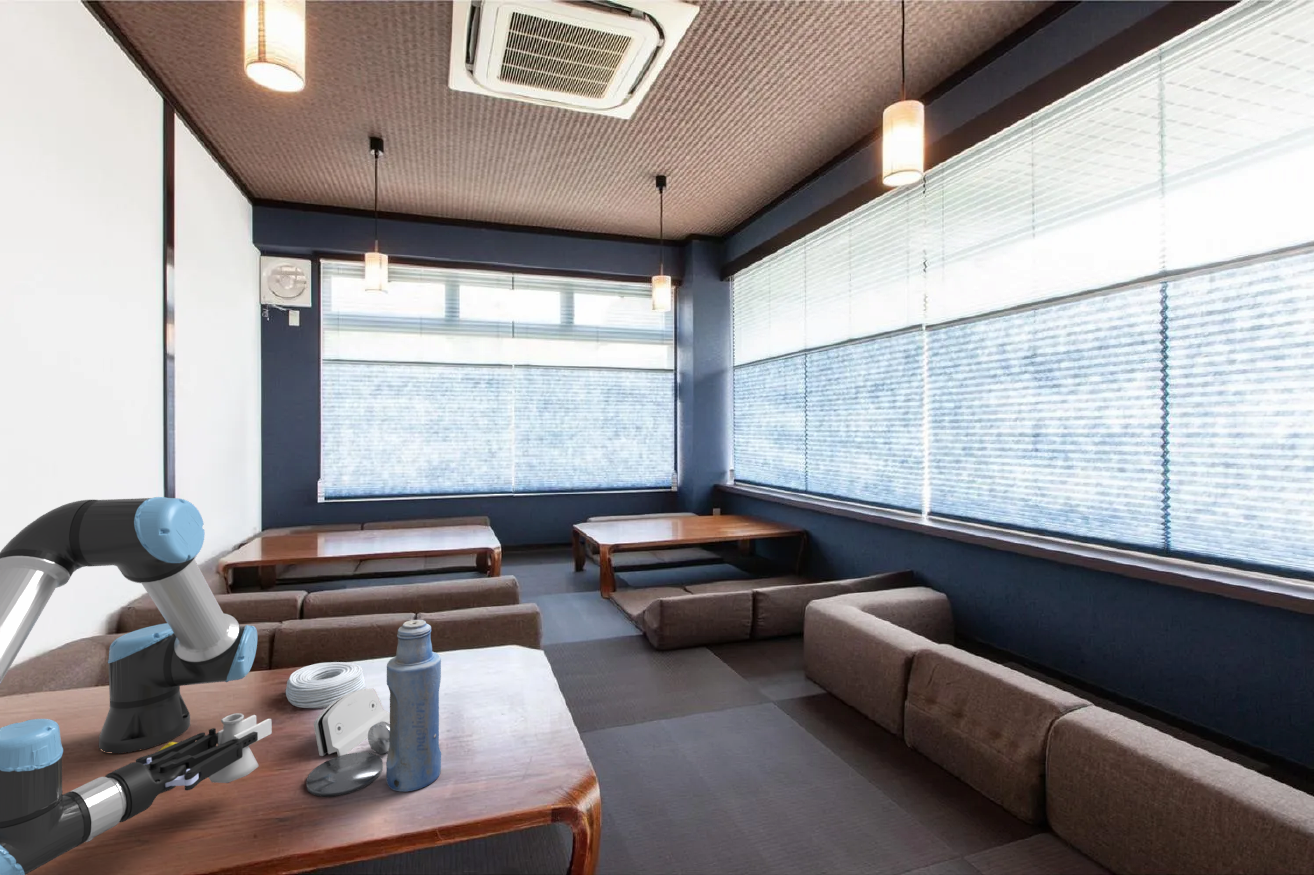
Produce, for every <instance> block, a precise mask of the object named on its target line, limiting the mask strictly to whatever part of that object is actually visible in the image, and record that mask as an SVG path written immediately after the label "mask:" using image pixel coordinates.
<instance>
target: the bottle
mask: <svg viewBox="0 0 1314 875" xmlns="http://www.w3.org/2000/svg"><path fill="white" fill-rule="evenodd" d="M431 632H432V626H431V625H430V624H428V623H427V622H426V620H423V619H411V620H407V621H405V622H404V623H403V624H402V626H399V628H398V629H397V633H396V637H397V647H396V655H395V656H394V657H391V659H389V661H388V662H387V663H386V685H387V687H388V690H389V714H390V722H389V724H390V736H389V738H390V741H389V750H388V751H387V757H386V763H385V765H386V772H385V774H386V784H387V785H388V787H389V788H390V789H391V790H393V791H397V792H412V791H417V790H420V789H423V788H424V787H427V786H429V785H431V784H432V783H433V782H435V781H436V780H437V779H438V778H439V777H440V774H441V771H442V770H441V769H442V751H441V749H440V742H439V741H440V687H441V686H440V685H441V681H442V680H441V679H442V657H441V655H440V654H438V653H437V652H434V651H433V644H432V640H431V635H432V634H431Z"/></svg>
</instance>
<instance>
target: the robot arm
mask: <svg viewBox="0 0 1314 875" xmlns="http://www.w3.org/2000/svg"><path fill="white" fill-rule="evenodd" d="M204 523H205V522H204V520H203V517H202V515H201V513H200V511H199V509H198V508H197V507H196V506H195V505H194V504H193V503H192V502H190V501H189V500H188V499H187V500H186V499H184V498H178V497H176V498H175V497H166V496H156V497H147V498H145V497H143V498H142V497H141V498H140V497H139V498H119V499H118V498H116V499H83V500H76V501H72V502H69V503H65V504H62V505H61V506H58V507H55V508H54V509H51V510H49V511H47V512H46V513H44V514H43V515H40V516H39V517H38V518H36V519H35V520H33V521H32V522H31V523H28V525H27V526H25V527H24V528H22V529H21V530H20V531H19V532H17V534H16V535H15V536H13V537H12V538H11V539H10V540H9V541H8V543H6V545H4V547H2V549H1V551H0V685H1V684H2V682H3V680H4V678H5V676H6V675H7V674H8V671H9V670H10V668H11V666H12V665H13V663H14V662H15V659H16V657H17V656H18V654H19V652H20V651H21V648H22V647H23V645H24V644H25V642H26V640H27V639H28V637H29V635H30V634H31V631H32V630H33V628H34V627H35V624H36V623H37V622H38V620H39V618H40V616H41V614H42V612H43V611H44V609H45V607H46V606H47V603H48V602H49V600H50V598H51V597H52V596H53V593H54V592H55V591H56V589H58V588H60V587H63V586H65V585H66V584H67V583H68V582H69V581H70V580H71V577H72V575H73V573H74V572H76V571H77V570H79V569H81V568H84V567H108V566H109V567H110V566H115V567H117V569H118V570H119V572H120V573H121V575H122V576H123V577H124V579H126V580H128V581H130V582H133V583H134V584H135V583H136V584H141V585H142V586H143V588H144V589H145V591H146V592H147V594H148V596H149V598H151V600H152V602H153V603H154V605H155V606H156V608H157V610H158V611H159V613H160V614H161V616H162V617H163V618H164V620H165V622H166V623H159V624H155V625H151V626H147V627H143V628H139V629H136V630H133V631H131V632H128V633H126V634H123V635H121V636H119V637H117V638H115V639H114V640H113V641H112V642H111V644H110V645H109V651H108V652H109V653H108V660H107V663H108V684H109V685H108V686H109V687H108V689H109V710H108V713H107V716H106V717H105V720H104V723H103V725H102V728H101V730H100V731H101V732H100V734H99V735H98V736H99V737H98V749H99V748H100V749H102V750H103V751H105V752H112V753H118V754H126V752H128V753H133V752H132V751H134V752H137V751H136V750H139V751H141V750H140V749H143V750H147V749H150V748H153V746H154V747H156V745H157V746H159V744H160V745H162V744H165V743H166V742H171V740H174V739H176V738H178V737H179V736H180V735H182V734H183V733H185V732H186V731H187V730H188V729H189V728H190V726H191V714H190V711H189V709H188V707H187V705H186V702H185V701H184V698H183V697H182V694H181V688H180V687H181V686H193V685H202V684H203V685H204V684H213V683H214V684H215V683H223V682H224V683H229V682H231V681H232V682H233V681H239V680H242V679H244V678H245V677H246V676H247V675H248V674H249V673H250V671H251V669H252V666H253V664H254V661H255V658H256V653H257V648H258V646H257V645H258V631H257V630H258V629H257V628H256V626H254V625H249V624H246V625H244V626H243V625H240V623H239V621H238V620H237V619H236V618H235V617H234V616H232V615H231V614H228V613H224V612H223V610H222V608H221V606H220V604H219V603H218V601H217V599H216V597H215V595H214V593H213V591H212V590H211V588H210V585H209V584H208V582H207V580H206V578H205V576H204V574H203V572H202V571H201V569H200V567H199V565H198V563H197V561H196V557H197V555H198V554H199V553H200V552H201V550H202V548H203V545H204V542H205V541H204V540H205V536H206V535H205V529H204V527H203V526H204ZM242 729H243V731H242V732H240V733H238V734H236V735H234V736H233V739H232V740H230V741H227V742H225V743H223V744H220V743H221V740H222V735H223V729H221V730H219V731H217V729H216V728H209V729H208V734H206V732H199V733H197V734H195V735H192V736H190V737H187V738H186V739H184V740H181V741H179V742H177V743H176V744H174V745H171V746H169V747H167V748H165V749H162V750H160V749H159V750H160V751H159V750H157V751H155V752H153V753H150V754H147V755H143V756H140V757H137V758H136V759H135V761H134V762H130V763H128V764H126V765H124V766H121V767H120V768H117V769H115V770H113V771H110V772H109V773H107V774H106V775H105V776H99V777H97V778H95V779H93V780H90V781H88V782H87V783H84V784H82V785H80V786H79V787H76V788H74V789H72V790H70V791H68V792H65V793H63V753H64V748H63V745H62V739H61V731H60V725H59V724H58V722H56V721H55V720H53V719H50V718H35V719H34V718H33V719H28V720H25V721H21V722H14V723H10V724H8V725H5V726H2V727H0V875H28V874H30V873H31V872H33V871H35V870H37V869H39V868H40V867H42V866H44V865H46V864H48V863H49V862H51V861H53V860H54V859H56V858H58V857H60V856H63V855H64V854H66V853H68V852H69V851H71V850H73V849H75V848H77V847H79V846H81V845H83V844H84V843H89V842H91V841H92V840H93V839H94V838H95V837H97V836H99V835H101V834H103V833H105V832H107V831H109V830H110V829H112V828H114V827H116V826H117V825H118V824H120V823H124V822H126V821H128V820H130V819H131V818H133V817H136V816H137V815H139V814H141V813H142V812H145V811H146V810H148V809H149V808H150V807H151V806H152V805H153V803H154V801H155V800H156V798H157V797H158V796H159V794H162V793H166V792H168V791H171V790H173V789H175V788H176V787H179V786H184V791H190V790H193V789H194V788H195V787H196V786H197V785H198V784H200V783H201V782H203V781H205V780H206V779H209V778H208V777H209V776H211V775H213V774H215V773H216V772H218V771H220V770H221V769H223V768H225V767H227V766H228V765H230V764H232V763H233V762H235V761H237V760H239V759H240V758H242V757H243V752H242V749H243V748H245V747H247V746H249V747H250V746H251V745H252V744H254V743H256V742H258V741H260V740H262V739H263V738H264V739H265V738H266V737H267V736H270V735H271V734H273V732H272V731H273V728H272V718H266V719H265V720H263V721H261V722H259V723H257V715H255V714H253V715H250V716H248V717H246V718H244V719H243V720H242ZM164 742H165V743H164ZM161 743H162V744H161ZM100 749H99V750H100ZM105 752H104V753H105ZM123 752H125V753H123ZM112 753H111V754H112Z"/></svg>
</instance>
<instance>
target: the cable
mask: <svg viewBox="0 0 1314 875" xmlns="http://www.w3.org/2000/svg"><path fill="white" fill-rule="evenodd" d="M363 672H364V670H363V668H362V666H360V665H358V664H356V663H352V662H344V661H343V662H342V661H340V662H339V661H338V662H337V661H333V662H331V661H330V662H319V663H314V664H311V665H306V666H303V667H302V668H299V669H297V670H295V671H293V672H292V673H290V676H289V678H288V679H287V681H286V688H285V689H284V691H285V696H286V698H287V700H288V702H289V703H290V704H291V705H292V706H295V707H297V708H300V709H301V708H303V709H321V708H322V709H323V708H327V707H328V706H329V705H330V704H332V703H333V702H334V701H336V700H338V699H339V698H341V697H343V696H344V695H347V694H349V693H352V692H355V691H358V690H362V689H366V680H365V677H364V673H363Z"/></svg>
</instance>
